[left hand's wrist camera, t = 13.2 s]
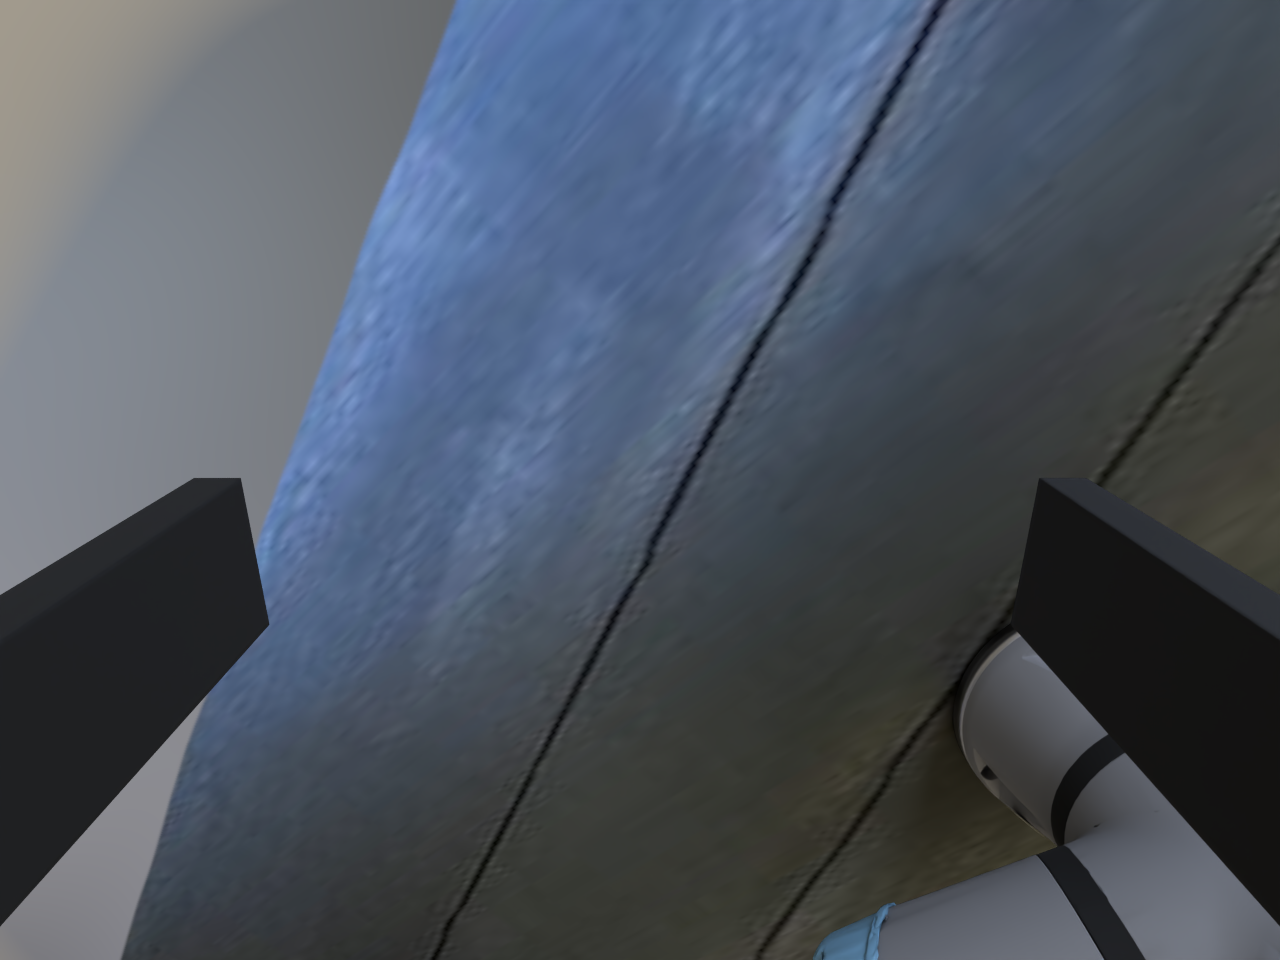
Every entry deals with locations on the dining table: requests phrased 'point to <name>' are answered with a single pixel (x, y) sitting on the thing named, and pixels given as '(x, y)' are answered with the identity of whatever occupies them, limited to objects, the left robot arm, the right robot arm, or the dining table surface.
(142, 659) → the left robot arm
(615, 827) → the dining table surface
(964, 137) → the dining table surface
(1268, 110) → the dining table surface
